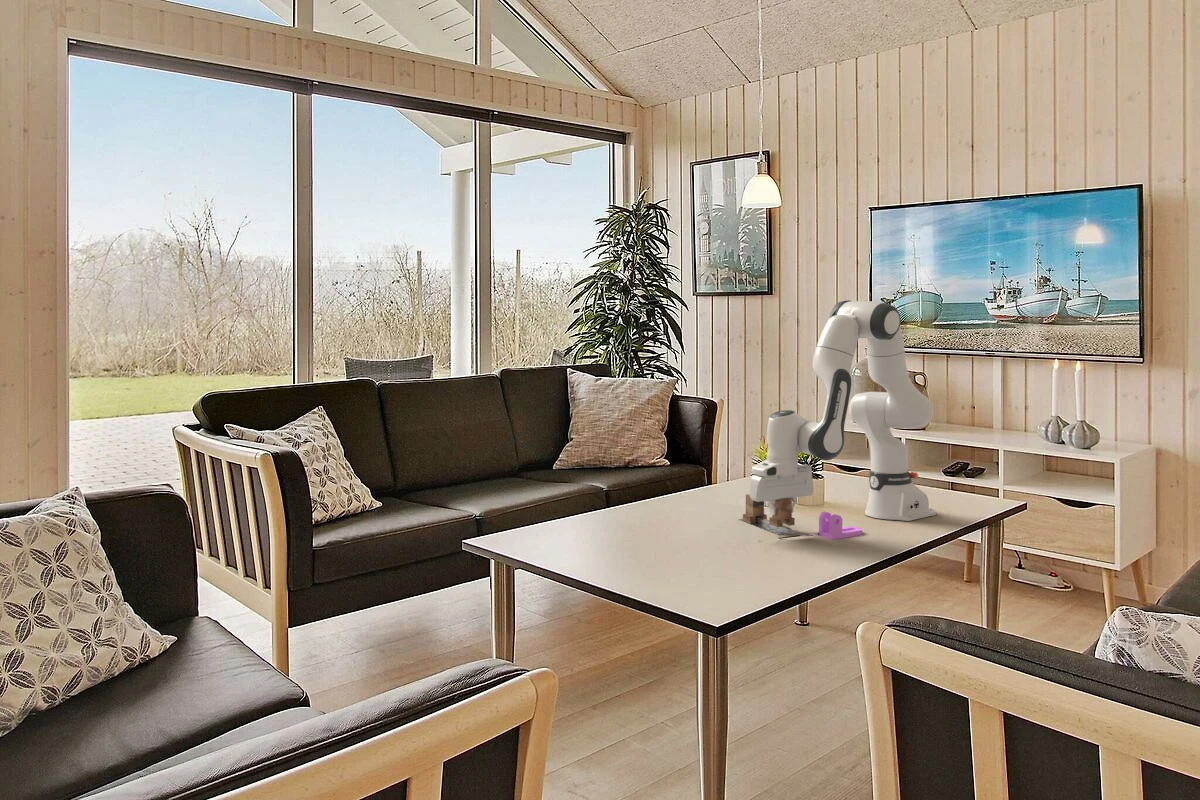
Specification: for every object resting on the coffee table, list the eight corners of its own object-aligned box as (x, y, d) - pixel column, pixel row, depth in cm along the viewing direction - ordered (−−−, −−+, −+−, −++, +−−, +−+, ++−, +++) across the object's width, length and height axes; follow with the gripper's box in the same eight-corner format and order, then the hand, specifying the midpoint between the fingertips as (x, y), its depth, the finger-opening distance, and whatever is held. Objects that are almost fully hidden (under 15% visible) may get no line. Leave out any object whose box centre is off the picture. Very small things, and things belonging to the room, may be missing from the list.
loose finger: (784, 521, 263) (784, 494, 262) (794, 524, 259) (794, 497, 258) (767, 523, 261) (767, 496, 260) (777, 527, 256) (777, 499, 255)
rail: (757, 520, 277) (757, 512, 277) (799, 536, 257) (799, 527, 257) (737, 522, 275) (737, 514, 274) (779, 538, 255) (779, 530, 254)
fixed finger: (759, 518, 275) (759, 493, 275) (768, 521, 271) (768, 495, 270) (742, 520, 273) (742, 494, 272) (751, 523, 269) (751, 497, 268)
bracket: (832, 540, 253) (832, 516, 252) (818, 535, 258) (819, 512, 257) (866, 534, 259) (866, 510, 259) (852, 530, 264) (852, 507, 263)
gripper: (805, 462, 265) (804, 507, 266) (746, 467, 256) (746, 514, 258) (818, 465, 259) (817, 511, 260) (759, 471, 251) (758, 519, 252)
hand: (781, 513), depth 259 cm, fingers closed on loose finger, 4 cm apart
